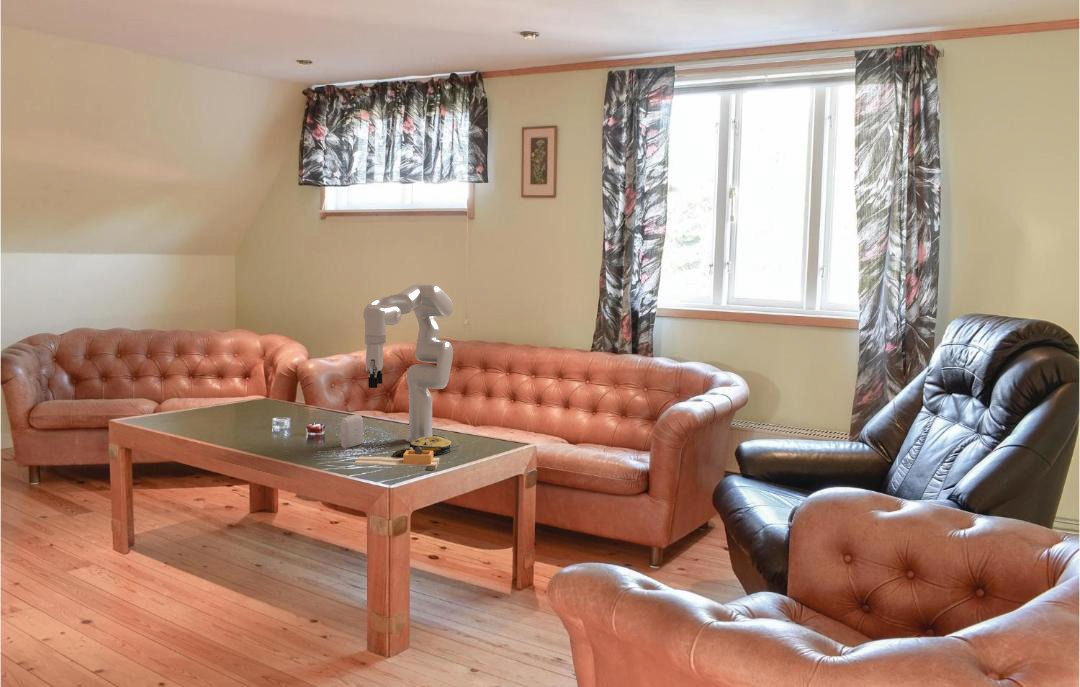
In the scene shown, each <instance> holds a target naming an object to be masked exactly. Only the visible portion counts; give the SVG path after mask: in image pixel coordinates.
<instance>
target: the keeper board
mask: <svg viewBox="0 0 1080 687" xmlns="http://www.w3.org/2000/svg"><path fill="white" fill-rule="evenodd" d="M414 452H415V454H418V455H422V452H423V450H422V448H421V447H416V448H415V450H414ZM439 463H440V457H433V461H432V463H431V464H403V456H399V457H393V456H359V457H358V458H357V459H355V461H354V462H353V463H352V465H354V466H356V465H361V466H415V467H417V466H419V467H420V466H422V467H423V466H424V467H426V468H424V469H425V470H428V471H429V470H431V471H432V470H433V471H435V470H437V467H438V465H439Z"/></svg>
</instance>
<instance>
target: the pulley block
mask: <svg viewBox="0 0 1080 687" xmlns="http://www.w3.org/2000/svg"><path fill="white" fill-rule="evenodd" d="M432 435H433V436H427V437H421V438H418V439H416V440H414V441H412V442H411V443H410V442H409V447H403V448H401V449H398V450H396V451H395V452H393V453H392V457H403V455H404V453H405V452H406V450H415V448H416V447H421V448H422V450H423V451H433V456H434V455H436V456H437V455H440V456H441V455H444V454H447V453H449V452H450V451H451V449H453V448H457V447H459V445H456V446H455V445H454V446H451V444H452V440H449V439H447V438H446V437H443V436H441V435H437V434H432Z"/></svg>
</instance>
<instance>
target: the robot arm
mask: <svg viewBox="0 0 1080 687" xmlns="http://www.w3.org/2000/svg"><path fill="white" fill-rule="evenodd" d="M453 310H454V304H453V301H452V299H451V298H450V296H448V294H447V293H446V292H445V291H444V290H443V289H442V288H440V286H438V285H436V284H422V283H421V284H420V283H417V284H412V285H410V286H408V287H406V288H405V289H404V290H402V291H400V292H398V293H396V294H391V295H389V296H384V297H381V298H377V299H375V300H373V301H371V302H370V303H368V304H367V305H366V306H365V308H364V310H363V313H362V314H363V319H364V345H366V350H365V351H366V352H365V355H366V356H365V371H366V372H368V376H367V377H368V379H367V380H368V382H367V383H368V384H367V385H368V389H377V388H378V385H379V384H380V385H382V384H383V367H384V345H386V326H394V325H397V324H399V322H400V321H401V320H402V315H406V314H409V313H411V312H412V311H413V312H414V315H415V317H416V320H417V322H418V333H417V339H416V344H415V350H414V357H415V360H417V361H419V362H421V363H429V364H419V363H418V364H413V365H411V366H409V367H408V368H407V370H406V374H405V376H406V383H407V388H408V435H407V436H406V437H405V436H404V437H405V438H404V441H406V442H407V443H409V444H410V443H411V442H412V441H414V440H416V439H418V438H421V437H427V436H433V435H434V434H433V396H432V394H431V392H430V390H429V389H433V390H443V389H445V388H446V387H447V385H448V383H449V379H450V374H451V370H452V364H453V356H454V349H453V345H452V344H451V342H449V341H447V340H443V339H442V340H440V339H439V337H440V331H441V330H440V326H439V325H438V322H437V321H436V320H435V318H444V319H445V318H449V317H450V316H451V315H452V314H453V312H454V311H453ZM430 363H431V364H436V365H431V364H430Z"/></svg>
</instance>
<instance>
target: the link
mask: <svg viewBox="0 0 1080 687" xmlns="http://www.w3.org/2000/svg"><path fill="white" fill-rule="evenodd" d="M433 454H434V452H433V451H423V452H422V455H418V454H415V452H414V450H406V452H405V453H404V455H402V457H403V464H431V463H432V461H433V458H434V455H433Z"/></svg>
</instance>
